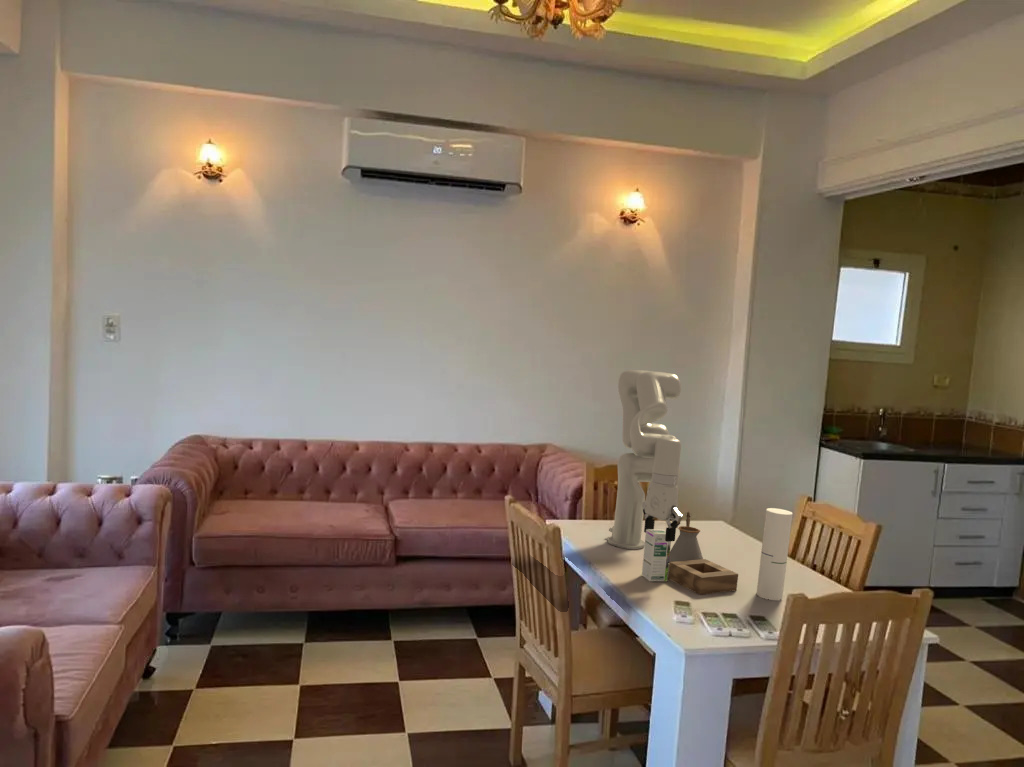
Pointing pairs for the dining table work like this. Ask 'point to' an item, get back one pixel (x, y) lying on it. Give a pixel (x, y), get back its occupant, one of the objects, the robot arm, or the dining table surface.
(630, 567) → the dining table surface
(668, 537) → the robot arm
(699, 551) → the coffee pot
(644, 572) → the syrup box
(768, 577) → the cylindrical container
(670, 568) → the mount block
